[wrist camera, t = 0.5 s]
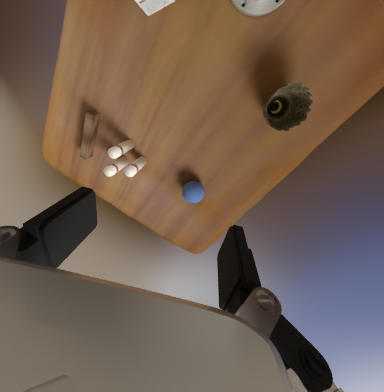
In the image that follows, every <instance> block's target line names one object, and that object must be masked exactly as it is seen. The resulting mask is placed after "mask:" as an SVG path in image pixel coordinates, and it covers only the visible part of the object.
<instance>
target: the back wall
mask: <svg viewBox="0 0 384 392" xmlns="http://www.w3.org/2000/svg"><path fill="white" fill-rule="evenodd" d="M99 118H100V114H99V113H98V112H96V111H86V116H85V123H84V130H83V137H82V144H81V151H80V157H81V158H83V159H87V158H90V157H92V156H93V150H94V145H95V139H96V134H97V128H98V123H99Z"/></svg>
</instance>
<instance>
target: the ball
mask: <svg viewBox="0 0 384 392" xmlns="http://www.w3.org/2000/svg"><path fill="white" fill-rule="evenodd" d="M182 195H183V197H184V199H185V200H186V201H188V202H190V203H197V202H199V201H200V200H201V199H202V198H203V196H204V188H203V186H202V185H201V184H200V183H199V182H196V181H190V182H188V183H186V184H185V185H184V187H183V189H182Z"/></svg>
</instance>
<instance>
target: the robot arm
mask: <svg viewBox="0 0 384 392" xmlns="http://www.w3.org/2000/svg"><path fill="white" fill-rule="evenodd" d="M230 1H231V2H232V4H233V5H234V6H235V8H236V9H237V10H239V11H240V12H241V13H243V14H245V15H247V16H252V17H258V16H263V15H266V14H269V13H271V12H272V11H274V10H276V9H277V8H278V7H279V6H280V5H282V4H283V3H284V2H285V0H278V3H276V0H230ZM242 4H244V7H242ZM96 226H97V210H96V196H95V192H93V189H90V188H86V187H81V188H79V189H78V190H76V191H74V192H73V193H71V194H70V195H68V196H66V197H65V198H64V199H62V200H60V201H59V202H57V203H56V204H54V205H52V206H51V207H49V208H48V209H46V210H44V211H43V212H41V213H40V214H38V215H36V216H35V217H33V218H31V219H30V220H28V221H27V222H25V223H23V227H22V228H20V229H19V228H18V227H15V226H1V227H0V392H344V391H343V390H342V389H341V388H339V389H338V388H337V387H336V385H335V384H334V383H333V377H332V373H331V370H330V368H329V366H328V364H327V362H326V360H325V359H324V357H323V356H322V355H321V354H320V353H319V352H318V350H317V349H316V348H315V347H314V346H313V345H312V344H311V343H310V342H309V341H308V340H307V339H306V338H305V337H304V336H303V335H302V334H301V333H300V332H299V331H298V330H297V329H296V328H295V327H294V326H293V325H292V324H291V323H290V322H289V321H288V320H287V319H286V318H285V317H284V316H283V315H282V314H281V311H282V309H281V304H280V302H279V300H278V299H277V297H276V296H275V295H274V294H273V293H272V292H271V291H269V290H268V289H266V288H264V287H261V283H260V279H259V276H258V272H257V269H256V265H255V261H254V258H253V254H252V251H251V249H248V246H247V242H246V238H245V234H244V230H243V227H241V226H236V225H233V227H232V226H230V228H229V230H228V232H227V234H226V237H225V239H224V241H223V243H222V246H221V248H220V250H219V253H218V257H217V261H218V287H219V288H218V289H219V307H220V308H221V309H222V310H221V309H217V308H214V307H210V306H207V305H203V304H199V303H196V302H192V301H188V300H184V299H180V298H176V297H172V296H168V295H164V294H160V293H156V292H152V291H148V290H144V289H140V288H136V287H132V286H127V285H123V284H119V283H115V282H111V281H107V280H103V279H99V278H94V277H90V276H86V275H81V274H77V273H73V272H69V271H65V270H61V269H56V268H57V267H58V266H59V265H60V264H61V263H62V262H63V261H64V260H65V259H66V258H67V257H68V256H69V255H70V254H71V253H72V252H73V251H74V250H75V249H76V247H77V246H78V245H79V244H80V243H81V242H82V241H83V240H84V239H85V238H86V237H87V236H88V235H89V234H90V233H91V232H92V231H93V230H94V229H95V227H96Z"/></svg>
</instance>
